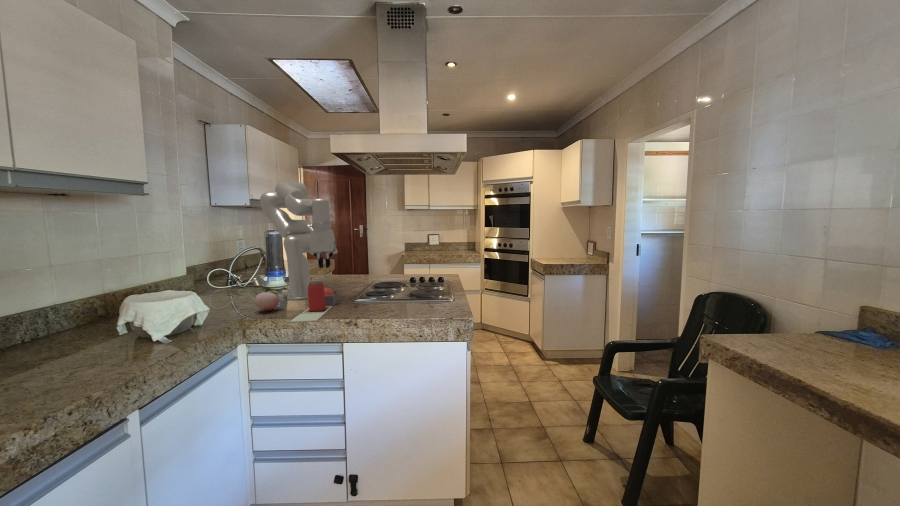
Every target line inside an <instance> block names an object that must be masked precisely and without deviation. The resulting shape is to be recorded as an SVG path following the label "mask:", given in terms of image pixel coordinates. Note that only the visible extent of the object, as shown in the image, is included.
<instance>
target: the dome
mask: <svg viewBox="0 0 900 506" xmlns="http://www.w3.org/2000/svg"><path fill="white" fill-rule="evenodd" d="M324 292H325V296H333V295H334V293H333V292H334V290H333V289H332V288H331V287H326V286H324Z"/></svg>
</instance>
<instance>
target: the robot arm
mask: <svg viewBox="0 0 900 506" xmlns="http://www.w3.org/2000/svg"><path fill="white" fill-rule="evenodd" d="M307 195H308V189H307V187H306V185H305V184H304V183H302V182H300V181H299V182H297V181H281V182H278V183H277V184H275V187H274V191H265V192H263V193H262V194H261V195H260V198H259V203H260V208H261V210H262V211H263V213H264V214H265V216H266V217H267V218H268V219H269V220H270V221H271V222H272V224H273V226H274V228H275V229H276V231H277V232H278V234H279V235H280V237H282V238H283V247H284V252H285V257H286V262H287V263H286V264H287V273H288V285H289V287H288V289H281V293H282V295H287V296H286V299H287V300H291V301H299V300H306V299H308V285H309V283H310V282H311V280H310V279H311V278H310V265H309V260H308V258H307V257H306V256H305V255H304V254H305V253H309V254H310V255H312V256H314V257H315V258H316V259H317V261H318V264H317V265H318V267H319V269H322V268H324V262H325V269H328V268H330V266H331V258H332V257H333V256H334V255H335V254H338V251H339V250H338V249H337V247H336V239H335V234H334V230H333V229H332V225H331V224H332V223H331V222H332V221H331V209H330V201H329V199H327V198H306V197H307ZM283 209H287V211H288V212H290V213H291V214H292V215H294V216H299V217H303V216H304V217H305V216H307V217H311V218H312V219H311V220H312V222H310V221H308V220H306V219H292V217H290V215H289V214H288V212H286V211H285V210H283ZM322 253H325V256H326V257H325V261H324V258H323V257H322V255H323V254H322Z"/></svg>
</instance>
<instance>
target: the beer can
mask: <svg viewBox="0 0 900 506" xmlns="http://www.w3.org/2000/svg"><path fill="white" fill-rule="evenodd" d="M324 288H325V285H324V284H323V281H310V283H309V285H308V298H307V299H308V308H309V310H308V311H309V312H324V310H325V311H326V308H327V307H326V306H325V292H324Z"/></svg>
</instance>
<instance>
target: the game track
mask: <svg viewBox="0 0 900 506" xmlns="http://www.w3.org/2000/svg"><path fill="white" fill-rule="evenodd" d="M333 293H334V295H333V296H325V306H326V308H327V309H325V311H320V312H311V311H310V310H309V307H308V308H307V309H306V310H304V311H303V312H302V313H299V314H297V315H296V316H295V317H294V318H293V319H291V320H290V321H289V323H307V322H308V323H309V322H317V321H319V320H320V319H321V318H322V317H323V316H325V314H326V313H327V312H328V311H329V310H330V309H331V308H332V307H334V306H336V305H337V303H338V302H339V292H338V291H335V292H334V291H333ZM308 311H309V312H308Z"/></svg>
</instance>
